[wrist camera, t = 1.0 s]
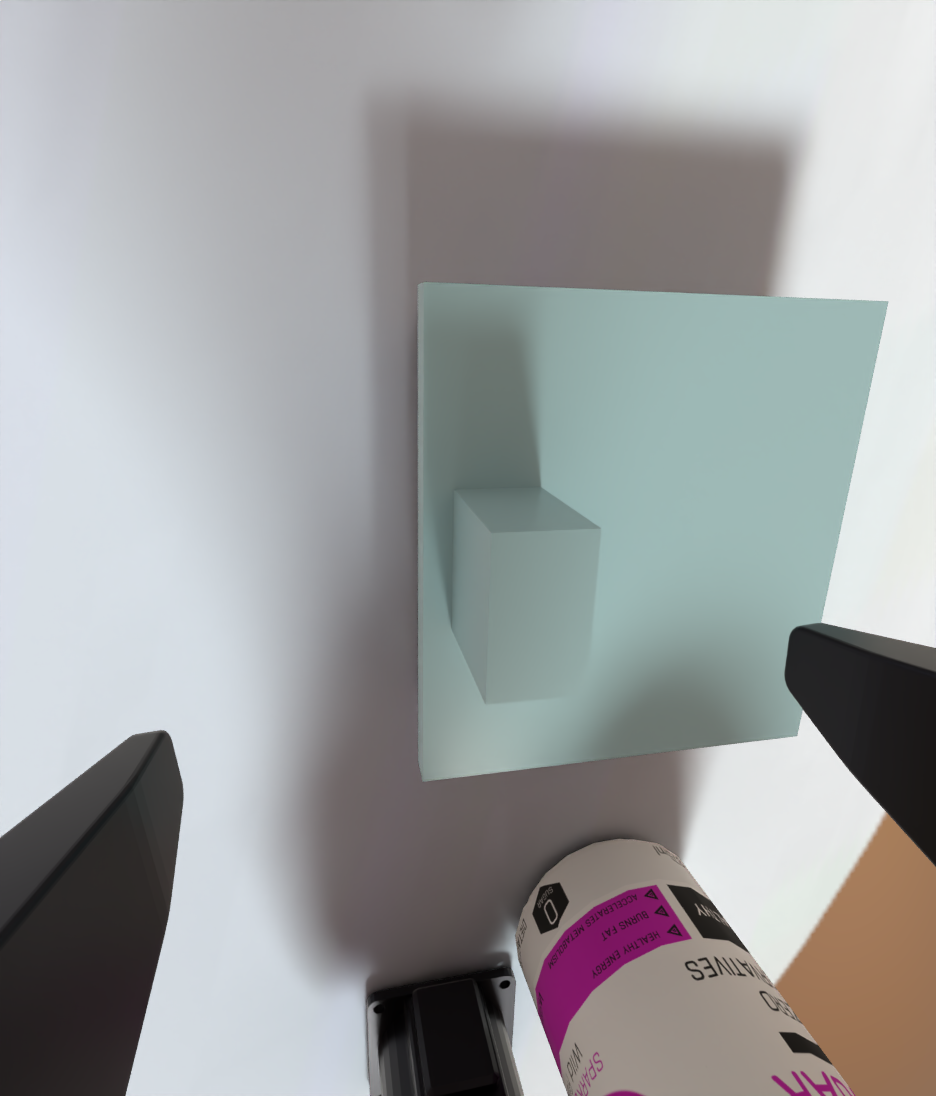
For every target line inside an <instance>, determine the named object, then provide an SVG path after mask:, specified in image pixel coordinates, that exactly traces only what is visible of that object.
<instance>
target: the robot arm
mask: <svg viewBox="0 0 936 1096" xmlns="http://www.w3.org/2000/svg"><path fill="white" fill-rule="evenodd" d="M784 677H785V682H786V685H787V688H788V690H789V691H790V693H791V694H792V695H793V697H794V698H795V699H796V701H797V702H798V703H799V705H800V706H801V707H802V709H803V710H804V711H805V713H806V714H807V715H808V717H809V718H810V719H811V721H812V722H813V723H814V725H815V726H816V727H817V729H818V730H819V731H820V733H821V734H822V735H823V737H824V738H825V739H826V741H827V742H828V743H829V745H830V746H831V747H832V749H833V750H834V751H835V753H836V754H837V755H838V757H839V758H840V759H841V760H842V762H843V763H844V764H845V766H846V767H847V768H848V769H849V771H850V772H851V773H852V774H853V775H854V776H855V778H856V779H857V780H858V781H859V782H860V783H861V784H862V786H863V787H864V788H865V789H866V790H867V791H868V792H869V793H870V794H871V796H872V797H873V798H874V799H875V800H876V801H877V802H878V803H879V804H880V806H881V807H882V808H883V809H884V810H885V811H886V812H887V813H888V814H889V815H890V817H891V818H892V819H893V820H894V821H895V822H896V823H897V824H898V825H899V827H900V828H901V829H902V830H903V831H904V832H905V833H906V834H907V835H908V837H909V838H910V839H911V840H912V841H913V842H914V843H915V844H916V845H917V847H918V848H920V850H921V851H922V852H923V853H924V854H925V855H926V857H928V859H929V860H930V861H931V862H932V863H933V864H934V865H935V866H936V648H933V647H928V646H924V645H919V644H915V643H910V642H906V641H901V640H897V639H892V638H887V637H883V636H878V635H874V634H869V633H865V632H860V631H856V630H851V629H847V628H842V627H838V626H833V625H828V624H824V623H813V624H807V625H801V626H797V627H795V628H794V629H793V630H792V631H791V633H790V635H789V641H788V648H787V656H786V664H785V671H784ZM182 808H183V783H182V779H181V775H180V771H179V767H178V763H177V759H176V755H175V751H174V747H173V743H172V739H171V737H170V735H169V734H168V733H167V732H166V731H164V730H159V731H153V732H147V733H141V734H135V735H132V736H131V737H129V738H128V739H127V740H125V741H124V742H123V743H121V744H120V745H119V746H118V747H116V748H115V749H114V750H112V751H111V752H110V753H109V754H107V755H106V756H105V757H103V758H102V759H101V760H100V761H98V762H97V763H96V764H94V765H93V766H92V767H91V768H89V769H88V770H87V771H85V772H84V773H83V774H82V775H80V776H79V777H78V778H76V779H75V780H74V781H73V782H71V783H70V784H69V785H67V786H66V787H65V788H64V789H62V790H61V791H60V792H58V793H57V794H56V795H55V796H53V797H52V798H51V799H49V800H48V801H47V802H46V803H44V804H43V805H42V806H40V807H39V808H38V809H37V810H35V811H34V812H33V813H31V814H30V815H29V816H28V817H26V818H25V819H24V820H22V821H21V822H20V823H19V824H17V825H16V826H15V827H13V828H12V829H11V830H10V831H8V832H7V833H6V834H4V835H3V836H2V837H1V838H0V1096H125V1095H126V1091H127V1087H128V1083H129V1079H130V1075H131V1070H132V1066H133V1062H134V1058H135V1054H136V1050H137V1046H138V1042H139V1038H140V1034H141V1030H142V1025H143V1021H144V1017H145V1013H146V1009H147V1005H148V1001H149V997H150V993H151V989H152V985H153V980H154V976H155V972H156V968H157V964H158V960H159V956H160V952H161V948H162V944H163V940H164V935H165V931H166V926H167V921H168V917H169V911H170V904H171V897H172V889H173V881H174V873H175V865H176V857H177V849H178V841H179V832H180V824H181V816H182ZM515 988H516V981H515V977H514V974H513V971H512V970H511V969H510V968H499V969H494V970H488V971H483V972H478V973H473V974H467V975H462V976H457V977H451V978H446V979H441V980H435V981H430V982H425V983H420V984H414V985H409V986H404V987H398V988H393V989H388V990H382V991H378V992H375V993H373V994H371V995H370V996H369V997H368V999H367V1025H368V1054H369V1082H370V1096H524V1093H523V1090H522V1086H521V1082H520V1078H519V1075H518V1071H517V1067H516V1064H515V1060H514V1056H513V1053H512V1036H513V1020H514V1004H515Z"/></svg>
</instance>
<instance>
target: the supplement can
mask: <svg viewBox="0 0 936 1096" xmlns="http://www.w3.org/2000/svg"><path fill="white" fill-rule="evenodd" d="M515 938H516V946H517V953H518V960H519V963H520V966H521V968H522V971H523V974H524V976H525V979H526V982H527V985H528V987H529V990H530V993H531V996H532V998H533V1001H534V1004H535V1006H536V1009H537V1012H538V1015H539V1017H540V1020H541V1023H542V1025H543V1028H544V1031H545V1034H546V1036H547V1039H548V1042H549V1045H550V1047H551V1050H552V1053H553V1055H554V1058H555V1061H556V1064H557V1066H558V1069H559V1072H560V1074H561V1077H562V1080H563V1083H564V1085H565V1088H566V1091H567V1094H568V1096H855V1094H854V1093H853V1092H852V1090H851V1089H850V1088H849V1086H848V1085H847V1084H846V1082H845V1081H844V1080H843V1078H842V1077H841V1076H840V1074H839V1073H838V1071H837V1070H836V1069H835V1067H834V1066H833V1065H832V1063H831V1062H830V1061H829V1059H828V1058H827V1057H826V1055H825V1054H824V1053H823V1051H822V1050H821V1048H820V1047H819V1046H818V1044H817V1043H816V1042H815V1040H814V1039H813V1038H812V1037H811V1035H810V1034H809V1032H808V1031H807V1030H806V1028H805V1027H804V1026H803V1024H802V1023H801V1022H800V1020H799V1019H798V1018H797V1016H796V1015H795V1014H794V1012H793V1011H792V1009H791V1008H790V1007H789V1005H788V1004H787V1003H786V1001H785V1000H784V999H783V997H782V996H781V995H780V993H779V992H778V991H777V989H776V988H775V986H774V985H773V984H772V982H771V981H770V980H769V978H768V977H767V976H766V974H765V973H764V972H763V970H762V969H761V968H760V966H759V965H758V964H757V962H756V961H755V960H754V958H753V957H752V955H751V954H750V953H749V951H748V950H747V949H746V947H745V946H744V945H743V943H742V942H741V941H740V939H739V938H738V937H737V935H736V934H735V933H734V931H733V930H732V929H731V927H730V926H729V924H728V923H727V922H726V920H725V919H724V918H723V916H722V915H721V914H720V912H719V911H718V910H717V908H716V907H715V906H714V904H713V903H712V902H711V900H710V899H709V898H708V896H707V895H706V893H705V892H704V891H703V889H702V888H701V887H700V885H699V884H698V883H697V881H696V880H695V879H694V877H693V876H692V875H691V873H690V872H689V871H688V869H687V868H686V866H685V865H684V864H683V862H682V861H681V860H680V858H679V857H678V856H677V855H675V854H674V853H672V852H671V851H669V850H668V849H666V848H665V847H663V846H662V845H660V844H659V843H653V842H647V841H641V840H635V839H628V840H626V839H614V840H608V841H602V842H597V843H593V844H590V845H588V846H586V847H584V848H582V849H580V850H578V851H576V852H573V853H571V854H569V855H567V856H566V857H565V858H564V859H562V860H561V861H560V862H559V863H558V864H556V865H555V866H554V867H553V868H552V869H550V870H549V871H548V872H547V873H546V874H545V875H544V876H543V878H542V879H541V881H540V882H539V883H538V885H537V886H536V888H535V889H534V891H533V892H532V894H531V895H530V897H529V900H528V902H527V904H526V905H525V907H524V908H523V911H522V914H521V918H520V921H519V924H518V928H517V931H516V934H515Z"/></svg>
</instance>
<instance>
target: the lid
mask: <svg viewBox="0 0 936 1096" xmlns="http://www.w3.org/2000/svg"><path fill="white" fill-rule="evenodd" d="M887 306H888V301H865V300H841V299H817V298H794V297H770V296H746V295H723V294H699V293H676V292H652V291H628V290H605V289H581V288H557V287H534V286H510V285H487V284H463V283H439V282H422V283H420V284H418V763H419V767H420V772H421V776H422V780H423V782H426V781H434V780H442V779H450V778H458V777H466V776H475V775H483V774H491V773H499V772H507V771H515V770H524V769H532V768H540V767H548V766H556V765H564V764H573V763H581V762H589V761H597V760H605V759H613V758H622V757H630V756H638V755H646V754H654V753H662V752H671V751H679V750H687V749H695V748H703V747H711V746H720V745H728V744H736V743H744V742H752V741H760V740H769V739H777V738H785V737H793V736H797V734H798V729H799V724H800V720H801V715H802V710H803V709H802V707H801V706H800V705H799V703H798V702H797V701H796V699H795V698H794V697H793V695H792V694H791V693H790V691H789V690H788V688H787V685H786V682H785V677H784V671H785V664H786V656H787V648H788V641H789V635H790V633H791V631H792V630H793V629H794V628H795V627H797V626H801V625H807V624H813V623H821V620H822V615H823V610H824V605H825V601H826V596H827V591H828V586H829V582H830V577H831V572H832V567H833V563H834V558H835V553H836V548H837V544H838V539H839V534H840V529H841V525H842V520H843V515H844V510H845V505H846V501H847V496H848V491H849V486H850V482H851V477H852V472H853V467H854V463H855V458H856V453H857V448H858V444H859V439H860V434H861V429H862V425H863V420H864V415H865V410H866V406H867V401H868V396H869V391H870V387H871V382H872V377H873V372H874V367H875V363H876V358H877V353H878V348H879V344H880V339H881V334H882V329H883V325H884V320H885V315H886V310H887Z"/></svg>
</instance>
